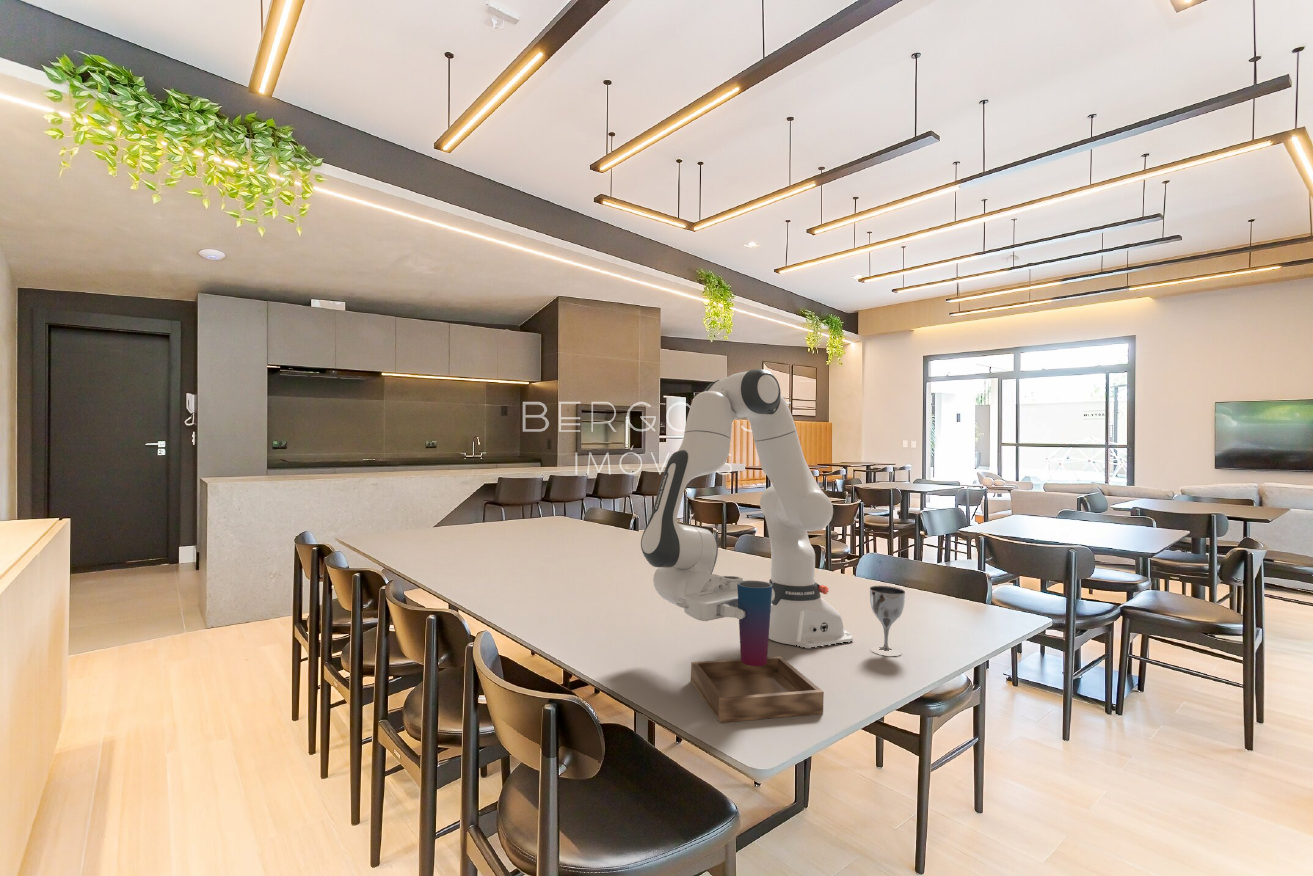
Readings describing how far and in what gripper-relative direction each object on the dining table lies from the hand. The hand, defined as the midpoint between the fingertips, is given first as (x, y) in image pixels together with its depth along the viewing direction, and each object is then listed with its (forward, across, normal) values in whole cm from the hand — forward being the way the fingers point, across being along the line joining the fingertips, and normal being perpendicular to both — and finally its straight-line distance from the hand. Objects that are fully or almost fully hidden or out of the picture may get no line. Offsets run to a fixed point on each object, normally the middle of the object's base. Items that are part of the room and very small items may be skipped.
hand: (757, 611), depth 113 cm
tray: (-1, 0, +17) cm, 17 cm away
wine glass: (0, +46, +16) cm, 49 cm away
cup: (0, 0, +10) cm, 10 cm away
